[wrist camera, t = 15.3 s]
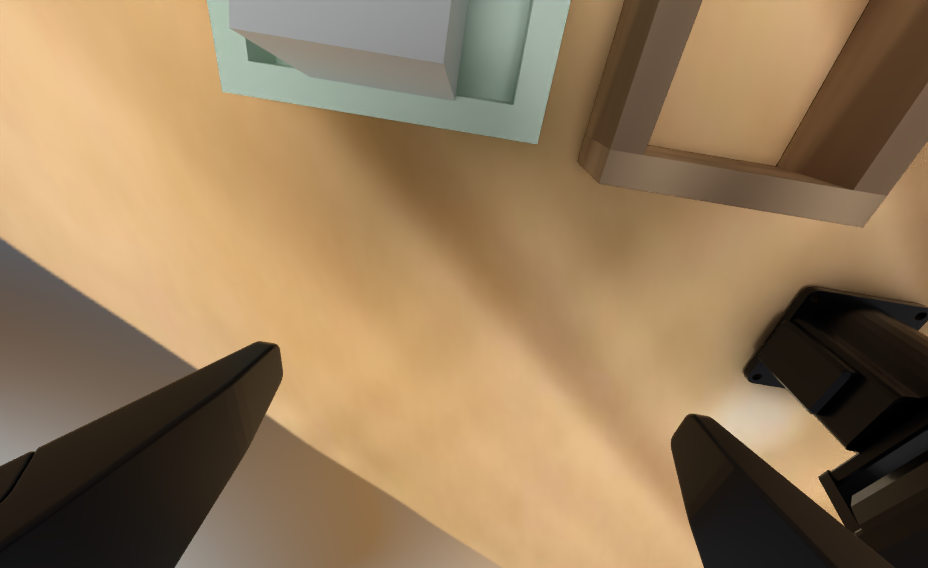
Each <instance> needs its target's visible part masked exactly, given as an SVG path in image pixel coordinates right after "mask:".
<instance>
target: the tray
mask: <svg viewBox="0 0 928 568" xmlns="http://www.w3.org/2000/svg"><path fill="white" fill-rule="evenodd" d="M570 2H571V0H469V2H468V9H467V17H466V24H465V31H464V38H463V46H462V53H461V60H460V67H459V75H458V82H457V89H456V96H455V101H451V100H445V99H439V98H433V97H427V96H421V95H415V94H409V93H403V92H397V91H391V90H385V89H379V88H373V87H367V86H361V85H355V84H349V83H343V82H337V81H331V80H325V79H319V78H313V77H309V76H307V75H306V74H304V73H302V72H301V71H299V70H297V69H296V68H294V67H292V66H291V65H289V64H287V63H286V62H284V61H283V60H281V59H279V58H278V57H276V56H274V55H273V54H271V53H269V52H268V51H266V50H265V49H263V48H261V47H260V46H258V45H256V44H255V43H253V42H251V41H250V40H248V39H247V38H245V37H243V36H242V35H240V34H238V33H237V32H235V31H233V30H232V29H230V28H229V0H207V4H208V10H209V16H210V22H211V27H212V33H213V39H214V45H215V51H216V57H217V63H218V69H219V75H220V81H221V87H222V92H227V93H233V94H239V95H245V96H251V97H257V98H262V99H268V100H274V101H280V102H286V103H292V104H298V105H304V106H310V107H316V108H322V109H328V110H334V111H340V112H346V113H352V114H358V115H364V116H370V117H376V118H382V119H388V120H394V121H400V122H406V123H412V124H418V125H424V126H430V127H436V128H442V129H448V130H454V131H460V132H466V133H472V134H478V135H484V136H490V137H496V138H502V139H508V140H514V141H520V142H526V143H532V144H538V139H539V135H540V131H541V126H542V122H543V118H544V114H545V109H546V105H547V101H548V96H549V92H550V88H551V84H552V79H553V75H554V71H555V66H556V62H557V58H558V54H559V49H560V45H561V41H562V36H563V32H564V28H565V24H566V19H567V15H568V11H569V6H570Z"/></svg>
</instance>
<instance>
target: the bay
mask: <svg viewBox="0 0 928 568" xmlns="http://www.w3.org/2000/svg"><path fill="white" fill-rule="evenodd" d="M701 3H702V0H625V1H624V5H623V8H622V12H621V15H620V18H619V22H618V25H617V29H616V32H615V36H614V39H613V42H612V46H611V49H610V53H609V56H608V59H607V63H606V66H605V70H604V73H603V77H602V80H601V83H600V87H599V90H598V94H597V97H596V100H595V104H594V107H593V111H592V114H591V117H590V121H589V124H588V128H587V131H586V135H585V138H584V141H583V145H582V148H581V152H580V155H579V158H578V163H579V164H580V165H581V166H582V167H583V168H584V169H585V170H586V171H587V172H588V173H589V174H590V175H591V176H592V177H593V178H594V179H595V180H596V181H597V182H598V183H599V184H604V185H610V186H616V187H622V188H628V189H634V190H640V191H646V192H652V193H658V194H664V195H670V196H676V197H682V198H688V199H694V200H700V201H706V202H712V203H718V204H724V205H730V206H736V207H742V208H748V209H754V210H760V211H766V212H772V213H778V214H784V215H790V216H796V217H802V218H808V219H814V220H820V221H826V222H832V223H838V224H844V225H850V226H856V227H862V228H863V227H864V226H865V224H866V223H867V222H868V220H869V219H870V218H871V216H872V215H873V214H874V212H875V211H876V210H877V208H878V207H879V206H880V204H881V203H882V202H883V200H884V199H885V198H886V196H887V195H888V194H889V192H890V191H891V189H892V188H893V187H894V185H895V184H896V183H897V181H898V180H899V179H900V177H901V176H902V175H903V173H904V172H905V171H906V169H907V168H908V167H909V165H910V164H911V163H912V161H913V160H914V158H915V157H916V156H917V154H918V153H919V152H920V150H921V149H922V148H923V146H924V145H925V144H926V142H927V141H928V0H870V2H869V4H868V5H867V7H866V9H865V11H864V13H863V14H862V16H861V18H860V20H859V21H858V23H857V25H856V27H855V28H854V30H853V32H852V34H851V36H850V37H849V39H848V41H847V43H846V44H845V46H844V48H843V50H842V52H841V53H840V55H839V57H838V59H837V60H836V62H835V64H834V66H833V67H832V69H831V71H830V73H829V75H828V76H827V78H826V80H825V82H824V83H823V85H822V87H821V89H820V91H819V92H818V94H817V96H816V98H815V99H814V101H813V103H812V105H811V106H810V108H809V110H808V112H807V114H806V115H805V117H804V119H803V121H802V122H801V124H800V126H799V128H798V130H797V131H796V133H795V135H794V137H793V138H792V140H791V142H790V144H789V145H788V147H787V149H786V151H785V153H784V154H783V156H782V158H781V160H780V161H779V163H778V165H777V167H776V166H770V165H764V164H758V163H752V162H746V161H740V160H734V159H728V158H722V157H716V156H710V155H704V154H698V153H692V152H686V151H680V150H674V149H668V148H662V147H656V146H650V145H648V143H649V140H650V137H651V135H652V132H653V129H654V127H655V124H656V122H657V119H658V116H659V114H660V111H661V108H662V106H663V103H664V100H665V98H666V95H667V92H668V90H669V87H670V85H671V82H672V79H673V77H674V74H675V71H676V69H677V66H678V63H679V61H680V58H681V55H682V53H683V50H684V48H685V45H686V42H687V40H688V37H689V34H690V32H691V29H692V26H693V24H694V21H695V18H696V16H697V13H698V11H699V8H700V5H701Z"/></svg>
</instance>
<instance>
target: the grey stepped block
mask: <svg viewBox="0 0 928 568" xmlns="http://www.w3.org/2000/svg"><path fill="white" fill-rule="evenodd" d="M468 2H469V0H229V28H230V29H232V30H233V31H235V32H237V33H238V34H240V35H242V36H243V37H245V38H247V39H248V40H250V41H251V42H253V43H255V44H256V45H258V46H260V47H261V48H263V49H265V50H266V51H268V52H269V53H271V54H273V55H274V56H276V57H278V58H279V59H281V60H283V61H284V62H286V63H287V64H289V65H291V66H292V67H294V68H296V69H297V70H299V71H301V72H302V73H304V74H306V75H307V76H309V77H313V78H319V79H325V80H331V81H337V82H343V83H349V84H355V85H361V86H367V87H373V88H379V89H385V90H391V91H397V92H403V93H409V94H415V95H421V96H427V97H433V98H439V99H445V100H451V101H455V96H456V89H457V82H458V75H459V67H460V60H461V53H462V46H463V38H464V31H465V24H466V17H467V9H468Z"/></svg>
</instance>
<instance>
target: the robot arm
mask: <svg viewBox="0 0 928 568" xmlns="http://www.w3.org/2000/svg"><path fill="white" fill-rule="evenodd" d="M813 296H814V297H813ZM812 297H813V298H812ZM927 321H928V307H926V306H924V305H921V304H917V303H911V302H905V301H899V300H893V299H887V298H881V297H875V296H869V295H863V294H857V293H851V292H844V291H838V290H832V289H826V288H820V287H809V288H807V289H805V290H803V291H802V292H801V293H800V295H799V296H798V298H797V299H796V300H795V302H794V303H793V305H792V306H791V307H790V309H789V310H788V311H787V313H786V314H785V316H784V317H783V318H782V320H781V321H780V323H779V324H778V325H777V327H776V328H775V330H774V331H773V332H772V334H771V335H770V336H769V338H768V339H767V341H766V342H765V343H764V345H763V346H762V348H761V349H760V350H759V352H758V353H757V355H756V356H755V357H754V359H753V360H752V361H751V363H750V364H749V366H748V367H747V368H746V370H745V372H744V376H745V377H746V378H747V380H748V381H749V382H751V383H756V384H762V385H768V386H774V387H780V388H786V389H787V390H788V391H789V392H790V393H791V394H792V395H793V396H794V397H795V398H796V400H797V401H798V402H799V403H800V404H801V405H802V406H803V407H804V408H805V409H806V410H807V411H808V412H809V413H810V414H813V415H814V416H815V417H816V418H817V419H818V420H819V421H820V422H821V423H822V424H823V425H824V426H825V427H826V428H827V430H828V431H829V432H830V433H831V434H832V435H833V436H834V437H835V438H836V439H837V440H838V441H839V442H840V443H841V444H842V445H843V446H844V447H845V448H846V449H847V450H849V451H854V452H855V453H856V455H855V456H853V457H852V458H850V459H849V460H847V461H846V462H844V463H843V464H841V465H840V466H838V467H837V468H835V469H834V470H832V471H829V470H827V471H826V472H824V473H823V474H821V475H820V476H819V477H818V478H819V480H820V482H821V484H822V485H823V487H824V489H825V491H826V493H827V495H828V497H829V498H830V500H831V502H832V504H833V506H834V507H835V509H836V511H837V513H838V515H839V517H840V518H841V520H842V522H843V524H844V526H843V525H842V524H841V523H840V522H838V521H837V520H836V519H835V518H834V517H832V516H831V515H830V514H829V513H827V512H826V511H825V510H824V509H823V508H821V507H820V506H819V505H818V504H816V503H815V502H814V501H813V500H812V499H810V498H809V497H808V496H807V495H805V494H804V493H803V492H802V491H801V490H799V489H798V488H797V487H796V486H794V485H793V484H792V483H791V482H790V481H788V480H787V479H786V478H785V477H783V476H782V475H781V474H780V473H779V472H777V471H776V470H775V469H774V468H772V467H771V466H770V465H769V464H768V463H766V462H765V461H764V460H763V459H761V458H760V457H759V456H758V455H757V454H755V453H754V452H753V451H752V450H750V449H749V448H748V447H747V446H746V445H744V444H743V443H742V442H741V441H739V440H738V439H737V438H736V437H735V436H733V435H732V434H731V433H730V432H728V431H727V430H726V429H725V428H724V427H722V426H721V425H720V424H719V423H717V422H716V421H715V420H714V419H712V418H711V417H708V416H704V415H698V414H689V415H687V416H686V417H685V418H684V420H683V421H682V423H681V424H680V426H679V427H678V429H677V430H676V432H675V433H674V435H673V436H672V439H671V450H672V454H673V459H674V463H675V467H676V471H677V475H678V480H679V484H680V488H681V492H682V497H683V501H684V505H685V509H686V513H687V517H688V520H689V524H690V527H691V530H692V533H693V536H694V539H695V542H696V545H697V548H698V551H699V554H700V557H701V560H702V563H703V566H704V568H928V337H927V336H926V335H924V334H922V333H921V332H919V331H918V330H919V329H920V328H921V327H922V326H923V325H924V324H925V323H926V322H927ZM282 377H283V368H282V361H281V354H280V348H279V346H278V345H277V344H274V343H268V342H262V341H258V342H255V343H253V344H251V345H249V346H247V347H245V348H243V349H240V350H238V351H236V352H234V353H232V354H230V355H228V356H226V357H224V358H222V359H220V360H218V361H216V362H214V363H212V364H210V365H208V366H206V367H203V368H201V369H199V370H197V371H195V372H193V373H191V374H189V375H187V376H185V377H183V378H181V379H179V380H177V381H175V382H173V383H171V384H169V385H166V386H164V387H163V388H160V389H158V390H156V391H154V392H152V393H150V394H148V395H146V396H144V397H142V398H140V399H138V400H136V401H134V402H132V403H130V404H128V405H125V406H123V407H121V408H119V409H117V410H115V411H113V412H111V413H109V414H107V415H105V416H103V417H101V418H99V419H97V420H94V421H92V422H91V423H88V424H86V425H84V426H82V427H80V428H78V429H76V430H74V431H72V432H70V433H68V434H66V435H64V436H62V437H60V438H57V439H55V440H53V441H51V442H49V443H47V444H45V445H43V446H41V447H39V448H38V449H37V450H36V451H35V452H34V451H32V452H28V453H26V454H24V455H22V456H20V457H18V458H16V459H14V460H12V461H10V462H8V463H6V464H4V465H2V466H0V568H175V566H176V564H177V563H178V561H179V560H180V558H181V556H182V555H183V553H184V552H185V550H186V548H187V547H188V545H189V544H190V542H191V540H192V539H193V537H194V535H195V534H196V532H197V531H198V529H199V528H200V526H201V524H202V523H203V521H204V519H205V518H206V516H207V515H208V513H209V511H210V510H211V508H212V506H213V505H214V503H215V502H216V500H217V499H218V497H219V495H220V494H221V492H222V490H223V489H224V487H225V486H226V484H227V482H228V481H229V479H230V478H231V476H232V474H233V473H234V471H235V470H236V468H237V466H238V465H239V463H240V461H241V460H242V458H243V456H244V455H245V453H246V451H247V450H248V448H249V446H250V444H251V442H252V440H253V438H254V436H255V434H256V432H257V430H258V428H259V426H260V424H261V422H262V420H263V418H264V416H265V414H266V412H267V410H268V408H269V406H270V404H271V402H272V400H273V397H274V395H275V393H276V391H277V389H278V387H279V385H280V383H281V380H282Z"/></svg>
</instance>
